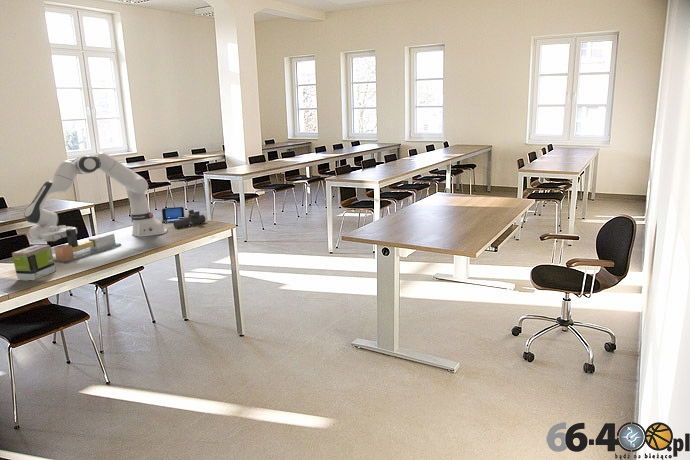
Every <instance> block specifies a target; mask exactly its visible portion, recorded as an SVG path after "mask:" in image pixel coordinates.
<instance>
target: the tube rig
mask: <svg viewBox="0 0 690 460" xmlns="http://www.w3.org/2000/svg"><path fill="white" fill-rule="evenodd" d="M91 240H94V242H95V246H93V247H90V248H86V249H83V250H80V251H77V252H73V249H72V245H68V244H62V245H61V244H60V245H57V246H54V252H55V258H53V260H54V263H61V264H62V263H63V264H69V263H72V262H75V261H78V260H81V259H85V258H87V257H90V256H91V257H92V256H94V255H97V254H99V253H102V252H106V251H108V250H112V249H114V248H117V247H121V246H122V243H121V242H120V243H118V242H116V239H115V233H112V232H106V233H103V234H100V235H95V236H94V237H93V236H92V237H90V238H88V241H91Z"/></svg>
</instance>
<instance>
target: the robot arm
mask: <svg viewBox="0 0 690 460" xmlns="http://www.w3.org/2000/svg"><path fill="white" fill-rule="evenodd" d="M96 170H100V171H102V172H103V173H104V174H105V175H107V176H109V177H110V178H112V179H113V180H114V181H115V182H117V183H118V184H121V185H122V186H123V187H125V189H126V194H127V197H128V201H129V205H130V211H131V214H130V215H131V216H130V218H131V222H132V233H131V235H132V236H133V237H138V238H142V237H150V236H158V235H163V234H166V233H167V232H168V231H167V230H168V228H165V227H164V224H163V223H162V221H161V220H159V219H157V218H156V217H154V213H153V212H151V211H150V208H149V201H148V198H147V195H146V193H145V192H147V190H148V189H149V184H148V181H147V180H146V179H145V178H144V177H143V176H141V175H139V174H138V173H136V172H135V171H133V170H132V169H130V168H129V167H127V166H126V165H124V164H123V163H121V161H119V160H118V159H116V158H114V157H113V156H111V155H109V154H108V153H106V152H103V151H99V152H97V153H95V154H94V155H81V156H79V157H77V158H75V159H74V160H72V161H71V160H68V159H67V160H66V159H65V160H62V161H60V163H59V165H58V166H57V167H56V170H55V172H54V175H53V177H51V179H50V180H49V181H45V182H44V183H43V185H42V186H41V187H40V189H39V190H38V192H37V193H36V195H35V197H34V198H33V199H32V202H31V203H30V204H29V205H28V206H27V207H26V208H25V211H24V213H23V214H24V215H23V216H24V219H25V220H26V222H27V223H30V224H34V225H32V226H31V227H29V230H28V233H29V236H31V238H33V239H34V240H38V241H42V242H45V243H46V242H47V243H48V242H56V241H58V240H60V239H63V238H67V234H66V230H67V229H75V231H76V235H77V234H78V228H77V227H75V226H69V225H67V226H66V225H65V224H61V225H59V216H58V214H57V213H56V212H54V211H51V210H48V209H45V208H42V206H43V205H44V203H45V201H46V200H47V198H48V196H49V195H51V194H55V193H56V194H57V193H59V194H60V193H66V192H68V191H69V190H71V188H72V187H73V184H74V181H75V180H76V179H75V178H76V177H77V175H78V174H80V175H88V174H89V175H90V174H92V173H94V172H95V171H96Z"/></svg>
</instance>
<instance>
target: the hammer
mask: <svg viewBox="0 0 690 460" xmlns="http://www.w3.org/2000/svg"><path fill="white" fill-rule="evenodd" d="M66 234H67V236H66V239H67V243H68V244H67V245H72V249H73V253H74V252H78V251H81V250H84V249H87V248H90V247H93V246H95V242H94V240H91V241H89V240H88V241H85V242H82V243H78V238H77V234H76V231H75V229H67V230H66Z"/></svg>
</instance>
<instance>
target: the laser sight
mask: <svg viewBox="0 0 690 460" xmlns="http://www.w3.org/2000/svg"><path fill="white" fill-rule="evenodd" d="M206 221H207V220H206V216H205V215H204V214H200V211H199V210H198V211H194V209H191V210H188V216H187V217H184V219H179V220H174V221H173V223H172V225H173V227H174V228H175V229H179V227H180V228H184V226H185V227H186V226H188V227H190V226H189V225H193V226H195V225H194V224H197V225H200V224H199V223H202V224H204V223H203V222H206Z"/></svg>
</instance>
